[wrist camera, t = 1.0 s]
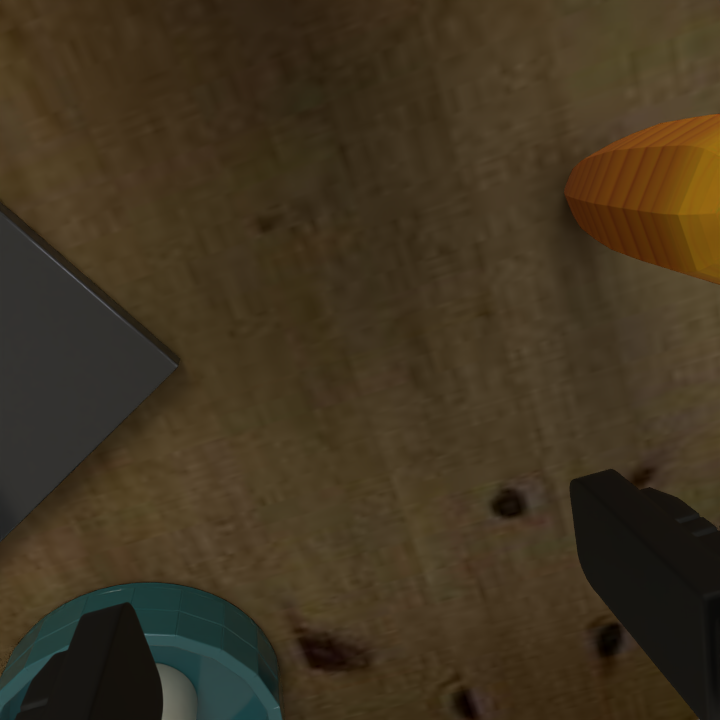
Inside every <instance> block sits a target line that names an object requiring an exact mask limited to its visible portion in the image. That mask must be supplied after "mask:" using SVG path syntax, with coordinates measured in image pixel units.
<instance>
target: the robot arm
mask: <svg viewBox="0 0 720 720" xmlns="http://www.w3.org/2000/svg"><path fill="white" fill-rule="evenodd" d="M570 498H571V505H572V513H573V521H574V529H575V537H576V544H577V552H578V557H579V560H580V564H581V567H582V569H583V572H584V574H585V576H586V578H587V580H588V582H589V583H590V585H591V586H592V588H593V589H594V590H595V591H596V593H597V594H598V595H599V596H600V598H601V599H602V600H603V601H604V602H605V604H606V605H607V606H608V607H609V609H610V610H611V611H612V612H613V613H614V615H615V616H616V617H617V618H618V620H619V621H620V622H621V623H622V624H623V626H624V627H625V628H626V629H627V631H628V632H629V633H630V634H631V635H632V637H633V638H634V639H635V640H636V642H637V643H638V644H639V645H640V646H641V648H642V649H643V650H644V651H645V653H646V654H647V655H648V656H649V658H650V659H651V660H652V661H653V662H654V664H655V665H656V666H657V667H658V669H659V670H660V671H661V672H662V673H663V675H664V676H665V677H666V678H667V680H668V681H669V682H670V683H671V684H672V686H673V687H674V688H675V689H676V691H677V692H678V693H679V694H680V695H681V697H682V698H683V699H684V700H685V702H686V703H687V704H688V705H689V706H690V708H691V709H692V710H693V711H694V713H695V714H696V715H697V716H698V717H699V719H700V720H720V531H718V530H717V528H716V527H715V526H714V525H713V524H712V523H710V522H709V521H708V520H706V519H705V518H704V517H700V516H699V513H697V512H696V511H695V510H693V509H692V508H691V507H689V506H688V505H687V504H685V503H684V502H683V501H682V500H680V499H679V498H677V497H674V496H672V495H669V494H666V493H664V492H661V491H658V490H656V489H653V488H650V487H649V488H645V489H642V490H639V489H638V488H636V487H635V486H634V485H633V484H632V483H630V482H629V481H628V480H627V479H625V478H624V477H623V476H622V475H621V474H619V473H618V472H617V471H615V470H613V469H608V470H605V471H601V472H598V473H594V474H590V475H587V476H583V477H580V478H576V479H573V480H572V481H571V483H570ZM162 714H163V690H162V683H161V679H160V675H159V672H158V669H157V666H156V664H155V661H154V658H153V656H152V653H151V651H150V648H149V645H148V643H147V640H146V638H145V635H144V632H143V630H142V627H141V624H140V622H139V619H138V617H137V614H136V612H135V610H134V608H133V606H132V605H131V604H130V603H128V602H125V603H122V604H118V605H115V606H111V607H107V608H104V609H100V610H97V611H93V612H89V613H86V614H83V615H82V616H81V618H80V620H79V622H78V624H77V627H76V630H75V632H74V635H73V637H72V640H71V642H70V645H69V648H68V650H66V651H62V652H59V653H55V654H54V655H53V656H52V657H51V658H50V660H49V661H48V662H47V663H46V664H45V665H44V667H43V668H42V669H41V670H40V671H39V672H38V674H37V675H36V676H35V677H34V678H33V679H32V681H31V683H30V685H29V688H28V690H27V692H26V695H25V697H24V699H23V701H22V704H21V706H20V713H17V715H16V717H15V720H162Z"/></svg>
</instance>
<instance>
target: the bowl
mask: <svg viewBox="0 0 720 720" xmlns="http://www.w3.org/2000/svg"><path fill="white" fill-rule="evenodd" d="M125 602H128V603H130V604H131V605H132V606H133V608H134V610H135V612H136V614H137V617H138V619H139V622H140V624H141V627H142V630H143V632H144V635H145V638H146V640H147V643H148V645H149V648H150V651H151V653H152V656H153V658H154V661H155V663H160V664H164V665H168V666H170V667H173V668H175V669H177V670H178V671H180V672H181V673H183V674H184V675H185V676H186V677H187V678H188V679H189V680H190V682H191V683H192V684H193V686H194V688H195V691H196V694H197V715H196V720H285V710H284V697H283V687H282V682H281V677H280V669H279V665H278V661H277V657H276V655H275V653H274V650H273V648H272V646H271V644H270V642H269V641H268V639H267V638H266V636H265V634H264V633H263V631H262V630H261V629H260V628H259V627H258V626H257V625H256V624H255V622H254V621H253V620H252V619H251V618H249V617H248V616H247V615H246V614H245V613H243V612H242V611H241V610H240V609H238V608H237V607H235V606H234V605H232V604H230V603H229V602H227V601H225V600H223V599H221V598H219V597H217V596H215V595H213V594H210V593H207V592H204V591H201V590H198V589H195V588H191V587H187V586H182V585H177V584H168V583H157V582H155V583H132V584H124V585H117V586H112V587H108V588H104V589H100V590H96V591H94V592H91V593H88V594H85V595H82V596H80V597H78V598H76V599H74V600H72V601H70V602H68V603H66V604H63V605H62V606H60V607H59V608H57V609H56V610H54V611H53V612H51V613H49V614H48V615H47V616H45V617H44V618H43V619H42V620H41V621H39V622H38V623H37V624H36V625H35V626H33V627H32V629H31V630H30V631H29V632H28V633H27V634H26V635H25V636H24V637H23V638H22V640H21V641H20V642H19V644H18V645H17V646H16V648H15V649H14V650H13V652H12V654H11V656H10V659H9V661H8V663H7V665H6V667H5V669H4V671H3V673H2V675H1V677H0V720H15V717H16V715H17V713H20V706H21V704H22V701H23V699H24V697H25V695H26V692H27V690H28V688H29V685H30V683H31V681H32V679H33V678H34V677H35V676H36V675H37V674H38V672H39V671H40V670H41V669H42V668H43V667H44V665H45V664H46V663H47V662H48V661H49V660H50V658H51V657H52V656H53V655H54V654H55V653H59V652H62V651H66V650H68V648H69V645H70V642H71V640H72V637H73V635H74V632H75V630H76V627H77V624H78V622H79V620H80V618H81V616H82V615H83V614H86V613H89V612H93V611H97V610H100V609H104V608H107V607H111V606H115V605H118V604H122V603H125Z"/></svg>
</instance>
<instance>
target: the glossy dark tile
mask: <svg viewBox="0 0 720 720" xmlns="http://www.w3.org/2000/svg"><path fill="white" fill-rule="evenodd" d="M179 363H180V358H179V357H178V356H177V355H175V354H174V353H173V352H172V351H171V350H170V349H169V348H167V347H166V346H165V345H164V344H163V343H162V342H161V341H159V340H158V339H157V338H156V337H155V336H154V335H152V334H151V333H150V332H149V331H148V330H147V329H146V328H144V327H143V326H142V325H141V324H140V323H139V322H138V321H136V320H135V319H134V318H133V317H132V316H131V315H130V314H128V313H127V312H126V311H125V310H124V309H123V308H122V307H120V306H119V305H118V304H117V303H116V302H115V301H113V300H112V299H111V298H110V297H109V296H108V295H107V294H105V293H104V292H103V291H102V290H101V289H100V288H99V287H97V286H96V285H95V284H94V283H93V282H92V281H91V280H89V279H88V278H87V277H86V276H85V275H84V274H83V273H81V272H80V271H79V270H78V269H77V268H76V267H74V266H73V265H72V264H71V263H70V262H69V261H68V260H66V259H65V258H64V257H63V256H62V255H61V254H60V253H58V252H57V251H56V250H55V249H54V248H53V247H52V246H50V245H49V244H48V243H47V242H46V241H45V240H44V239H42V238H41V237H40V236H39V235H38V234H37V233H35V232H34V231H33V230H32V229H31V228H30V227H29V226H27V225H26V224H25V223H24V222H23V221H22V220H21V219H19V218H18V217H17V216H16V215H15V214H14V213H13V212H11V211H10V210H9V209H8V208H7V207H6V206H5V205H3V204H2V203H1V202H0V542H1V541H2V540H3V539H4V538H5V537H6V536H7V535H8V534H9V533H10V532H11V531H12V530H13V529H14V528H15V527H16V526H17V525H18V524H20V523H21V522H22V521H23V520H24V519H25V518H26V517H27V516H28V515H29V514H30V513H31V512H32V511H33V510H34V509H35V508H36V507H37V506H38V505H39V504H40V503H41V502H42V501H43V500H44V499H45V498H46V497H47V496H48V495H49V494H50V493H51V492H52V491H53V490H54V489H55V488H56V487H57V486H58V485H59V484H60V483H61V482H62V481H63V480H64V479H65V478H66V477H67V476H68V475H69V474H70V473H71V472H72V471H73V470H74V469H75V468H76V467H77V466H78V465H79V464H80V463H81V462H82V461H83V460H84V459H85V458H86V457H87V456H88V455H89V454H91V453H92V452H93V451H94V450H95V449H96V448H97V447H98V446H99V445H100V444H101V443H102V442H103V441H104V440H105V439H106V438H107V437H108V436H109V435H110V434H111V433H112V432H113V431H114V430H115V429H116V428H117V427H118V426H119V425H120V424H121V423H122V422H123V421H124V420H125V419H126V418H127V417H128V416H129V415H130V414H131V413H132V412H133V411H134V410H135V409H136V408H137V407H138V406H139V405H140V404H141V403H142V402H143V401H144V400H145V399H146V398H147V397H148V396H149V395H150V394H151V393H152V392H153V391H154V390H155V389H156V388H157V387H158V386H159V385H160V384H162V383H163V382H164V381H165V380H166V379H167V378H168V377H169V376H170V375H171V374H172V373H173V372H174V371H175V370H176V369H177V368H178V366H179Z"/></svg>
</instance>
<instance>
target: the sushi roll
mask: <svg viewBox="0 0 720 720" xmlns="http://www.w3.org/2000/svg"><path fill="white" fill-rule="evenodd" d="M155 664H156V666H157V669H158V672H159V675H160V679H161V683H162V690H163V714H162V720H196V715H197V694H196V691H195V688H194V686H193V684H192V683H191V682H190V680H189V679H188V678H187V677H186V676H185V675H184V674H183V673H181V672H180V671H178V670H177V669H175V668H173V667H170V666H168V665H164V664H160V663H155Z"/></svg>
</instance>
